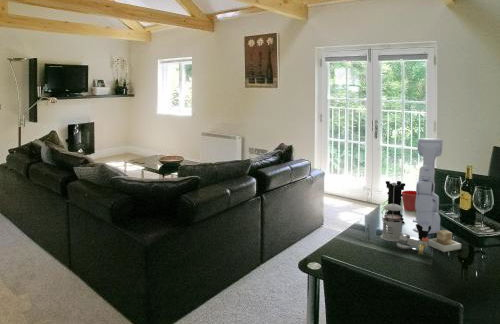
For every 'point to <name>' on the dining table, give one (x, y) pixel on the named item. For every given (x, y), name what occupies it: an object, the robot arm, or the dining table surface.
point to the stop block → (444, 237)
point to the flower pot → (409, 200)
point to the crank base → (410, 247)
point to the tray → (443, 248)
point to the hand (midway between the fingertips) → (422, 242)
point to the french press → (392, 222)
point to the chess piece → (395, 197)
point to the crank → (413, 240)
